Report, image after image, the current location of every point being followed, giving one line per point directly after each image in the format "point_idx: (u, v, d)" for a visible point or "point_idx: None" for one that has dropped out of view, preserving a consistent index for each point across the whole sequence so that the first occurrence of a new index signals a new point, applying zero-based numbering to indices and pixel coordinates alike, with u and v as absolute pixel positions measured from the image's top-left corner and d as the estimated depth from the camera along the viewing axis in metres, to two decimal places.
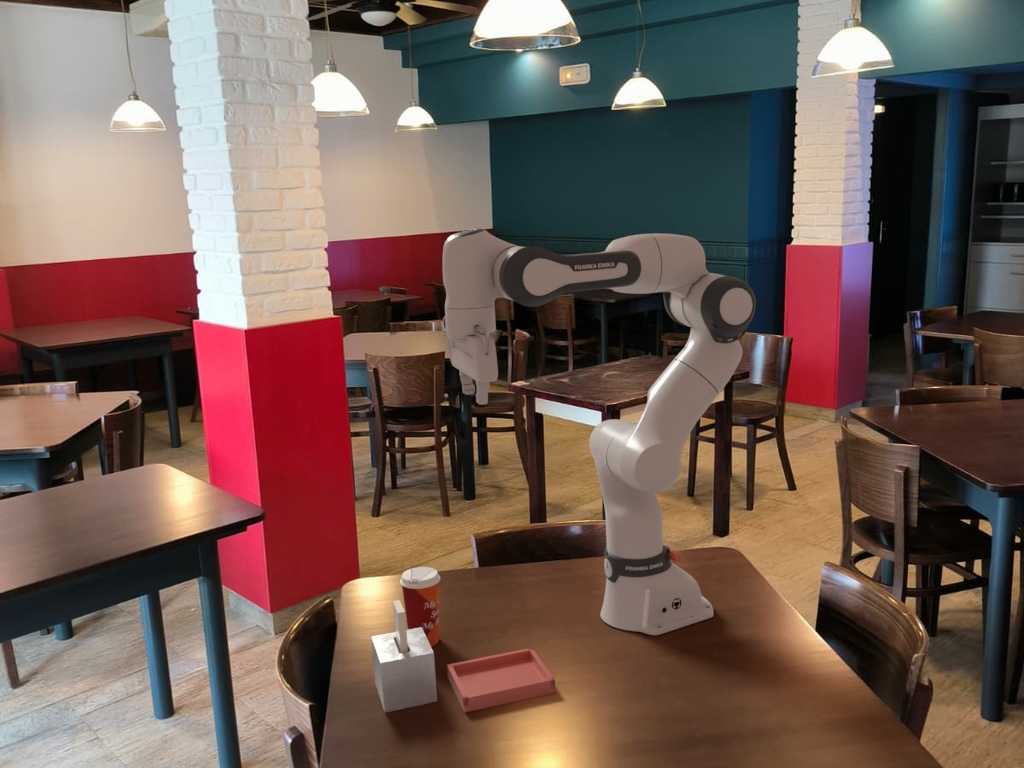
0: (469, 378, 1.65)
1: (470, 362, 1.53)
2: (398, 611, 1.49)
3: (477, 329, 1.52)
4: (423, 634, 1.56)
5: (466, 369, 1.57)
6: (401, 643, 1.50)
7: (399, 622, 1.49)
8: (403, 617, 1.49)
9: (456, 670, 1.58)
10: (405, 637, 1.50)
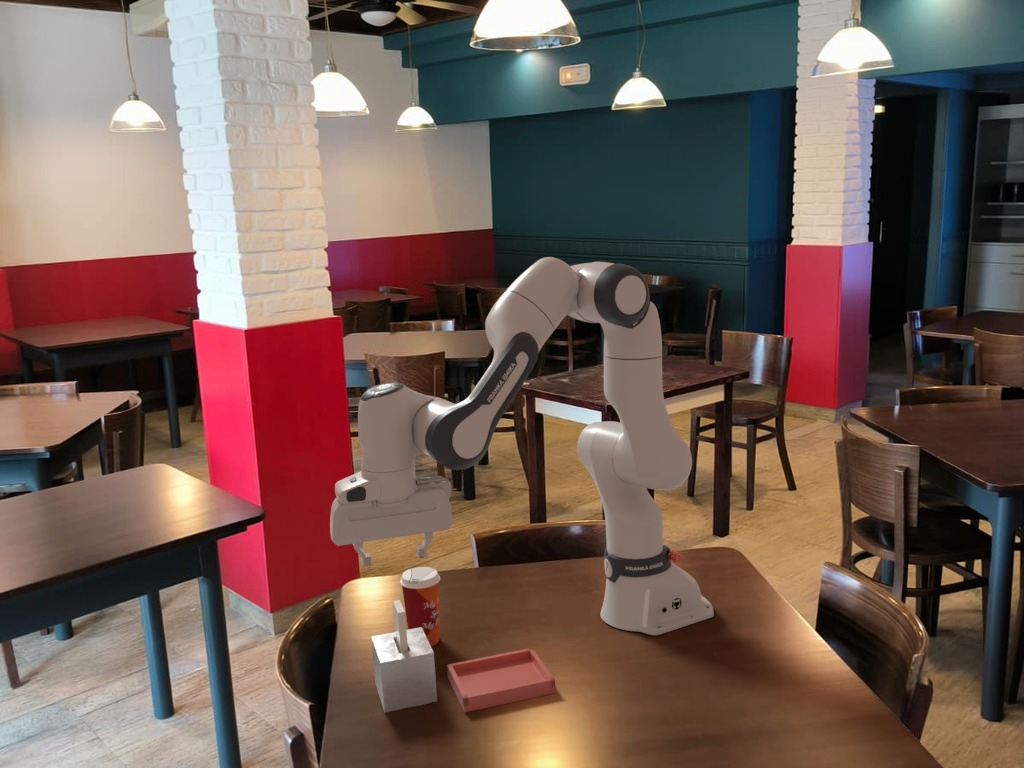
0: (361, 549, 1.48)
1: (424, 517, 1.48)
2: (398, 611, 1.49)
3: (427, 480, 1.48)
4: (423, 634, 1.56)
5: (407, 529, 1.47)
6: (401, 643, 1.50)
7: (399, 622, 1.49)
8: (403, 617, 1.49)
9: (456, 670, 1.58)
10: (405, 637, 1.50)
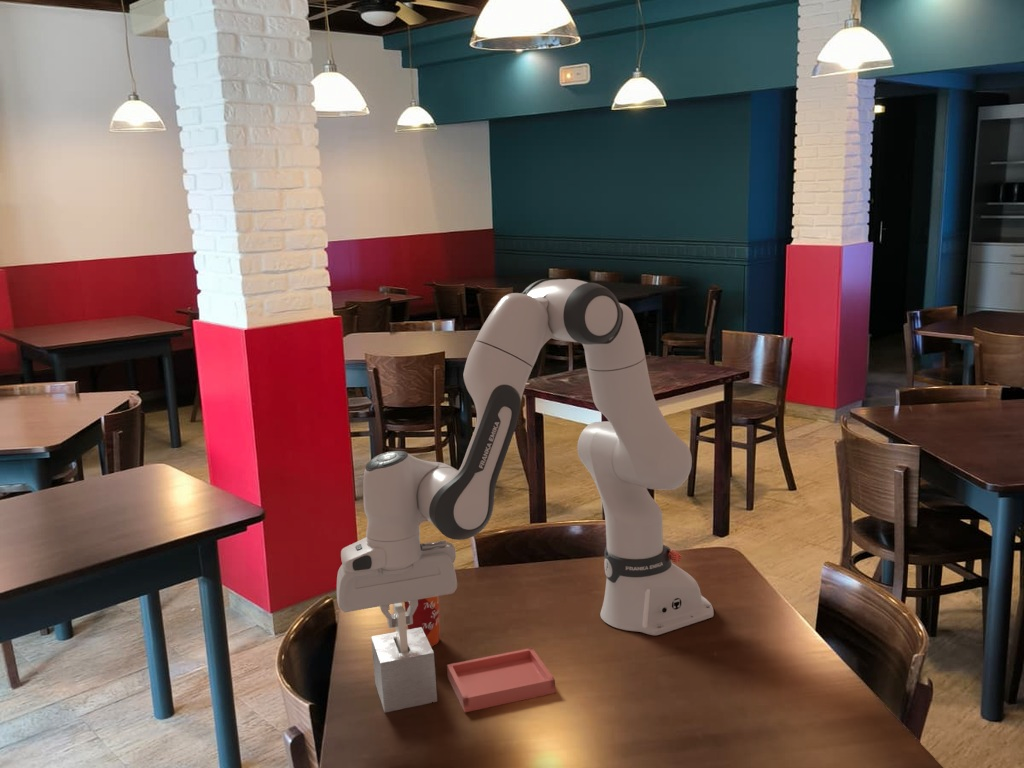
0: (387, 610, 1.51)
1: (429, 581, 1.50)
2: (398, 611, 1.49)
3: (431, 546, 1.50)
4: (423, 634, 1.56)
5: (412, 594, 1.49)
6: (401, 643, 1.50)
7: (399, 622, 1.49)
8: (403, 617, 1.49)
9: (456, 670, 1.58)
10: (405, 637, 1.50)
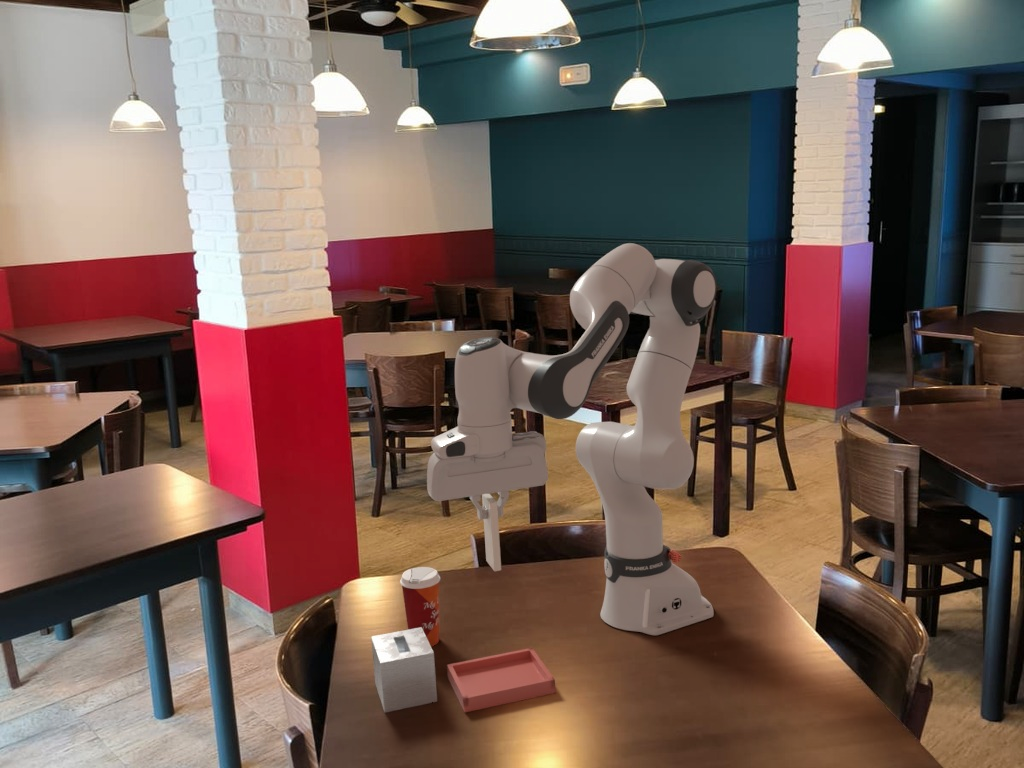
0: None
1: (521, 472, 1.47)
2: (490, 501, 1.46)
3: (522, 436, 1.48)
4: (423, 634, 1.56)
5: (504, 484, 1.47)
6: (493, 534, 1.47)
7: (491, 512, 1.46)
8: (495, 507, 1.46)
9: (456, 670, 1.58)
10: (497, 528, 1.47)
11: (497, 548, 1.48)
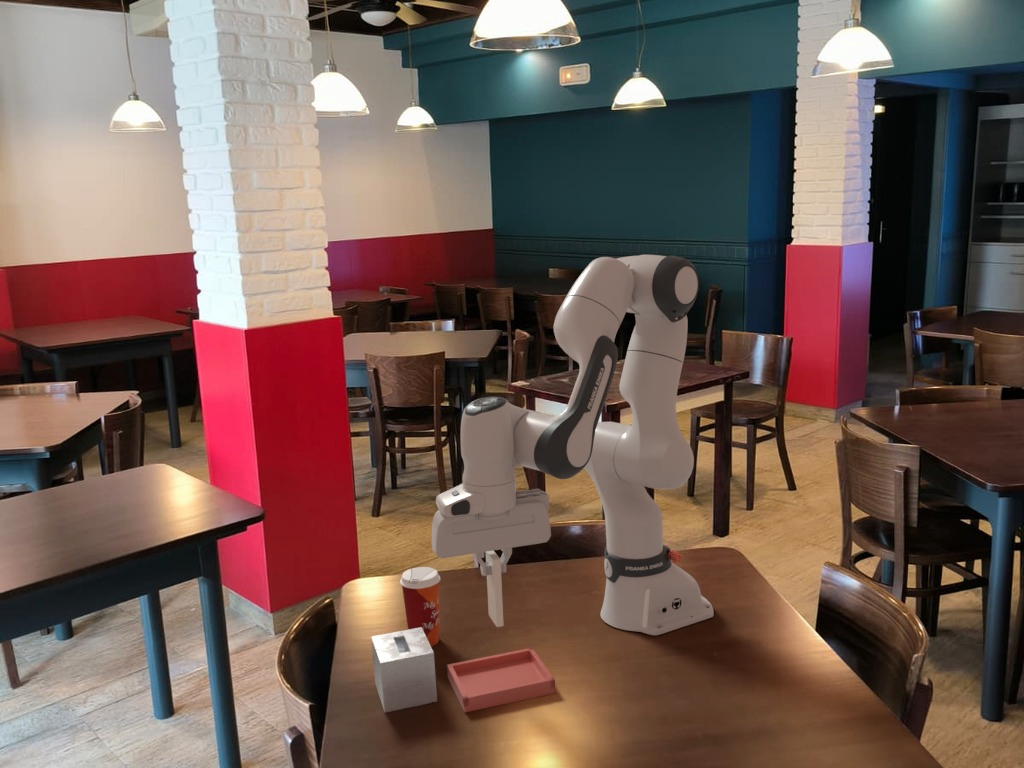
0: None
1: (524, 529, 1.49)
2: (493, 558, 1.48)
3: (526, 493, 1.50)
4: (423, 634, 1.56)
5: (507, 542, 1.49)
6: (496, 591, 1.49)
7: (494, 569, 1.48)
8: (498, 564, 1.48)
9: (456, 670, 1.58)
10: (500, 585, 1.49)
11: (500, 604, 1.49)
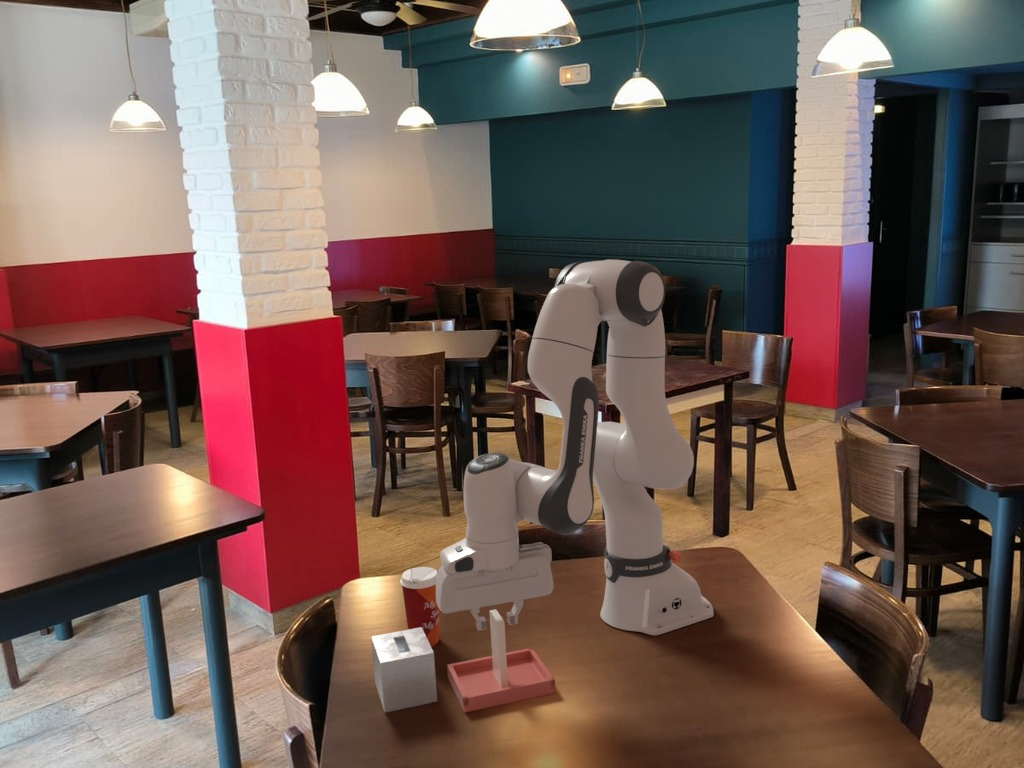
0: (476, 613, 1.52)
1: (527, 583, 1.51)
2: (497, 621, 1.50)
3: (529, 547, 1.51)
4: (423, 634, 1.56)
5: (510, 595, 1.51)
6: (500, 652, 1.51)
7: (498, 632, 1.50)
8: (502, 627, 1.50)
9: (456, 670, 1.58)
10: (504, 646, 1.51)
11: (504, 665, 1.52)
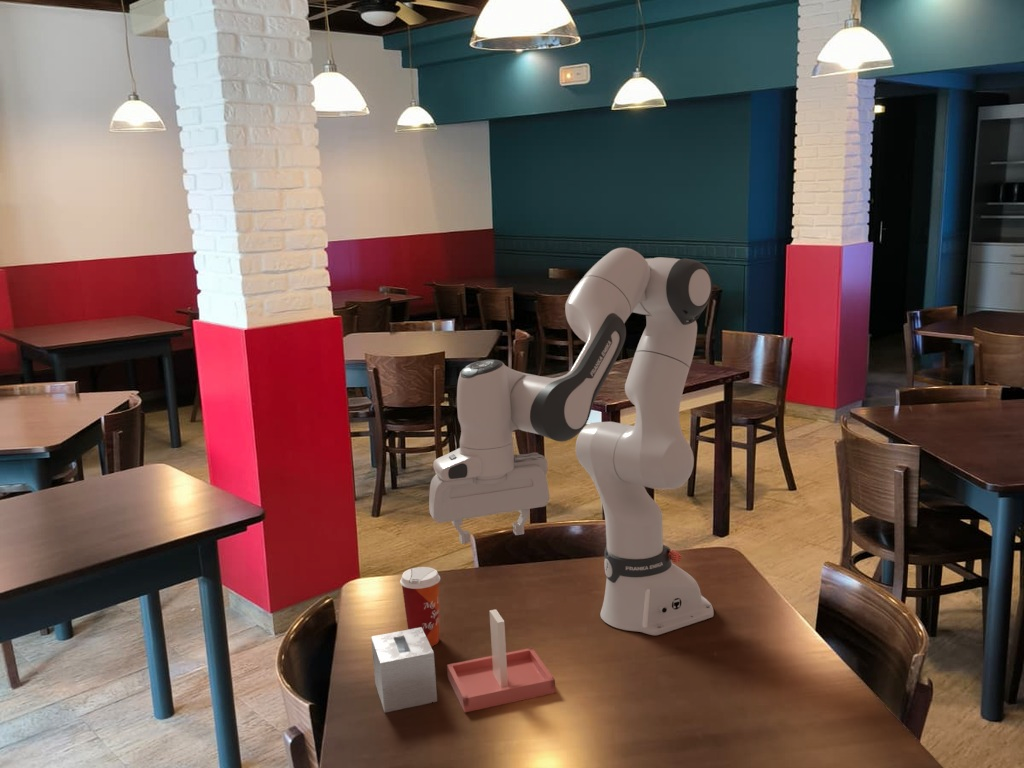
0: None
1: (522, 493, 1.48)
2: (497, 621, 1.50)
3: (524, 457, 1.49)
4: (423, 634, 1.56)
5: (505, 506, 1.48)
6: (500, 652, 1.51)
7: (498, 632, 1.50)
8: (502, 627, 1.50)
9: (456, 670, 1.58)
10: (504, 646, 1.51)
11: (504, 665, 1.52)
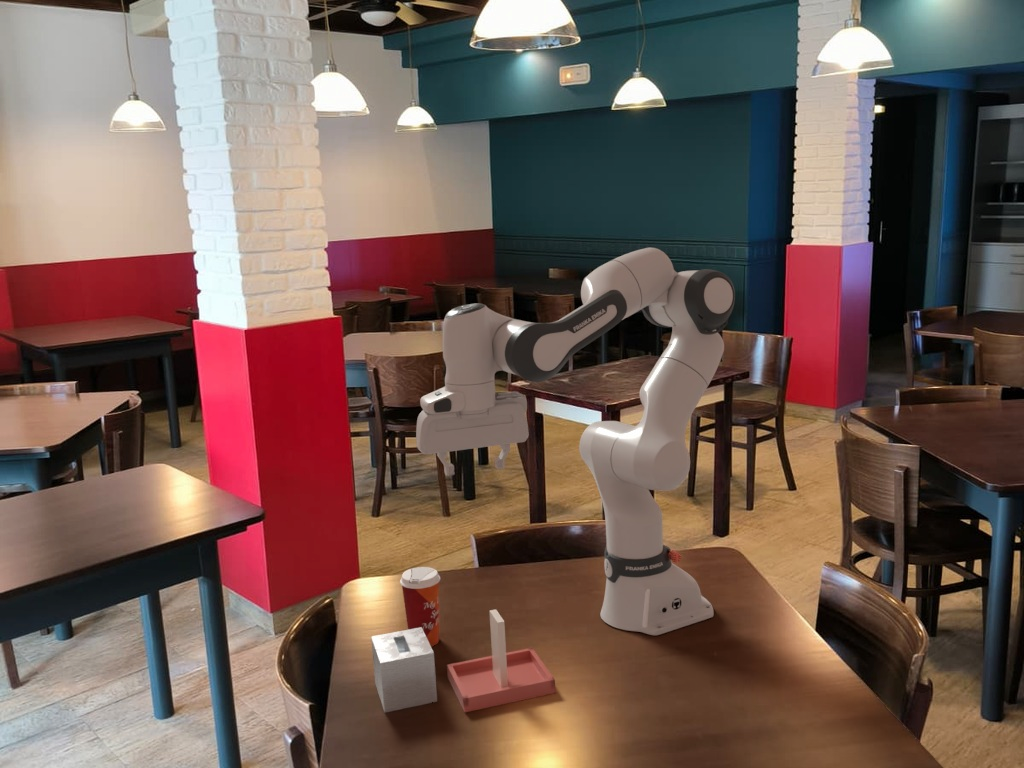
0: None
1: (503, 429, 1.59)
2: (497, 621, 1.50)
3: (505, 395, 1.59)
4: (423, 634, 1.56)
5: (487, 440, 1.58)
6: (500, 652, 1.51)
7: (498, 632, 1.50)
8: (502, 627, 1.50)
9: (456, 670, 1.58)
10: (504, 646, 1.51)
11: (504, 665, 1.52)
